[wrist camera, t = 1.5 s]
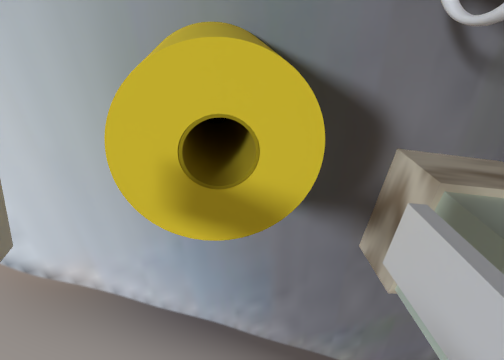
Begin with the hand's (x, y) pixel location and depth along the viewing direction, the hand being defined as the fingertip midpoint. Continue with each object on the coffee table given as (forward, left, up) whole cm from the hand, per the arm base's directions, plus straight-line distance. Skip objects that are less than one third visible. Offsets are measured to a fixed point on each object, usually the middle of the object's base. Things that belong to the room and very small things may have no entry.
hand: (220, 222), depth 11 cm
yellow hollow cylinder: (0, 0, -15) cm, 15 cm away
